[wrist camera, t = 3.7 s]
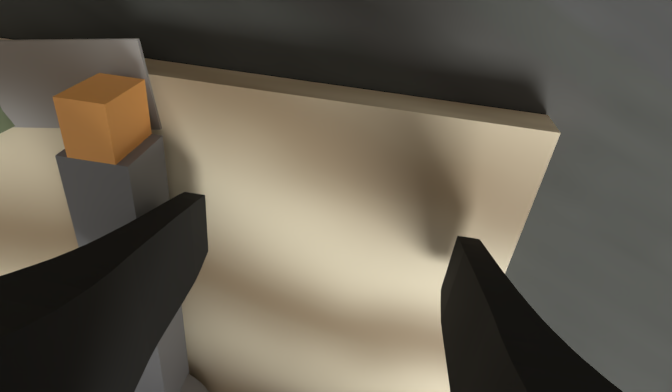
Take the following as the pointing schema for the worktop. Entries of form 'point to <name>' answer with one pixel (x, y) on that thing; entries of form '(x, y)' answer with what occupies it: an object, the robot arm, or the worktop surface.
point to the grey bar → (118, 189)
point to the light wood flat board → (289, 209)
